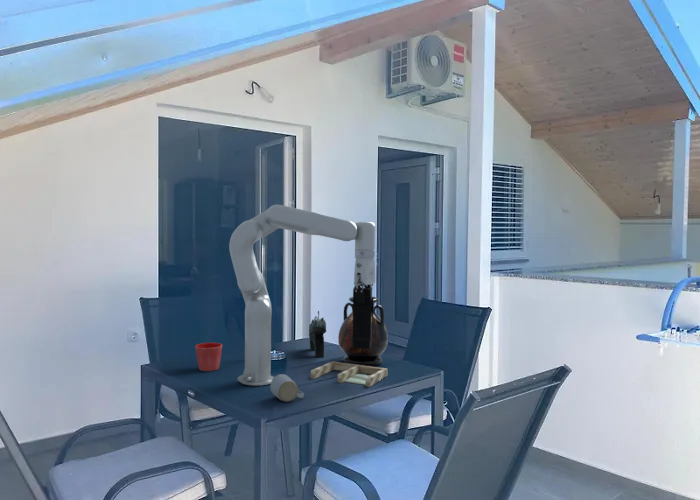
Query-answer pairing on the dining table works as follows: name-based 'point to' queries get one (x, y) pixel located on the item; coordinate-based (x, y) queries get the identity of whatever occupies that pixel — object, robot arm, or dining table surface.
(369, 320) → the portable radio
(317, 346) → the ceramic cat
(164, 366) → the dining table surface
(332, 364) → the slot rack
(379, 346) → the amphora vase
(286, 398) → the ceramic mug
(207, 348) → the flower pot
